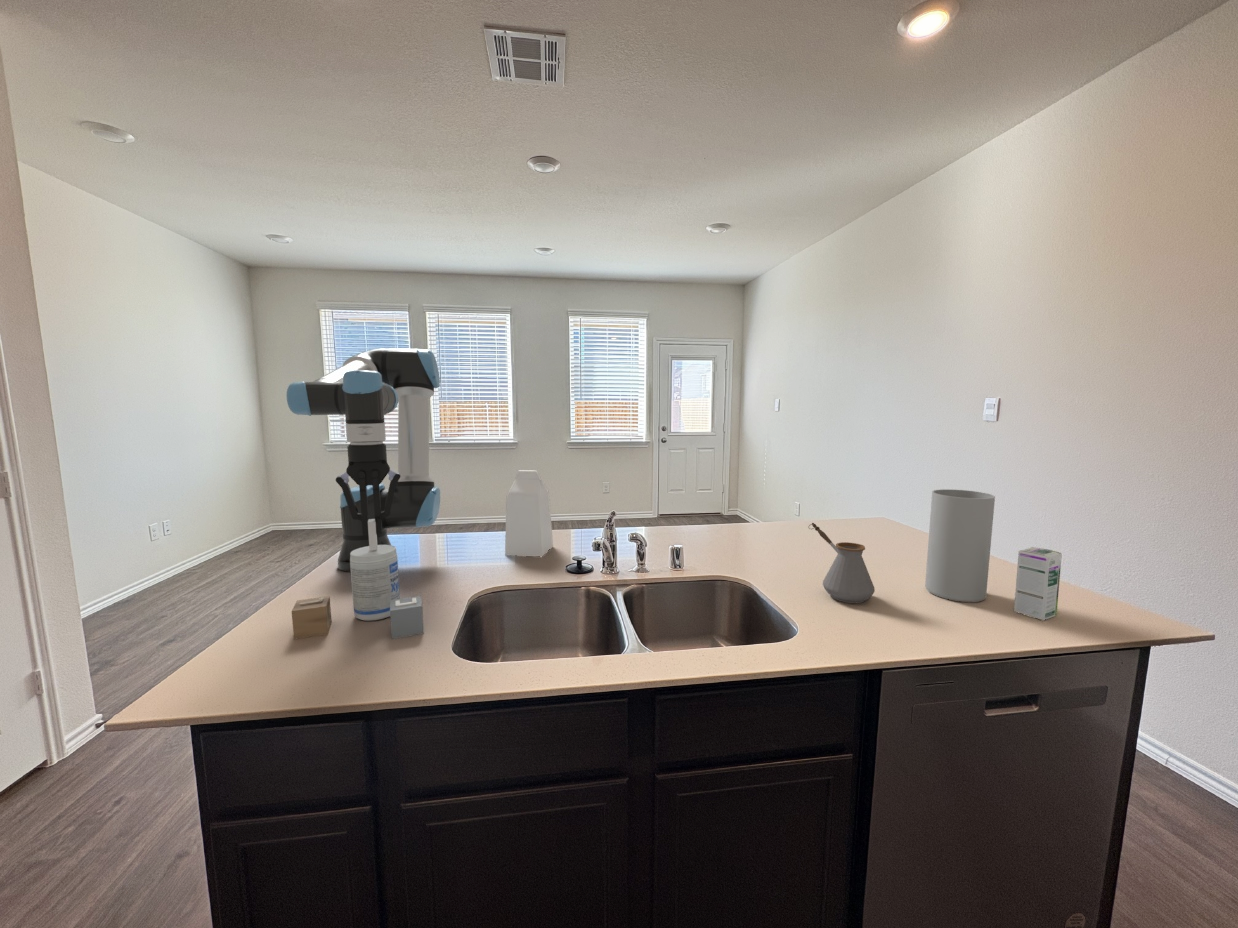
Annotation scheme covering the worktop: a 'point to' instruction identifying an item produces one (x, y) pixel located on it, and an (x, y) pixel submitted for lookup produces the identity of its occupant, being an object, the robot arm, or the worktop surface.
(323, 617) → the walnut marked block
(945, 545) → the cylinder vase
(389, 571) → the supplement tub
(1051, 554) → the syrup box
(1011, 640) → the worktop surface
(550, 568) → the worktop surface
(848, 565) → the coffee pot
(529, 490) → the milk
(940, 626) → the worktop surface
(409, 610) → the slate grey marked block
